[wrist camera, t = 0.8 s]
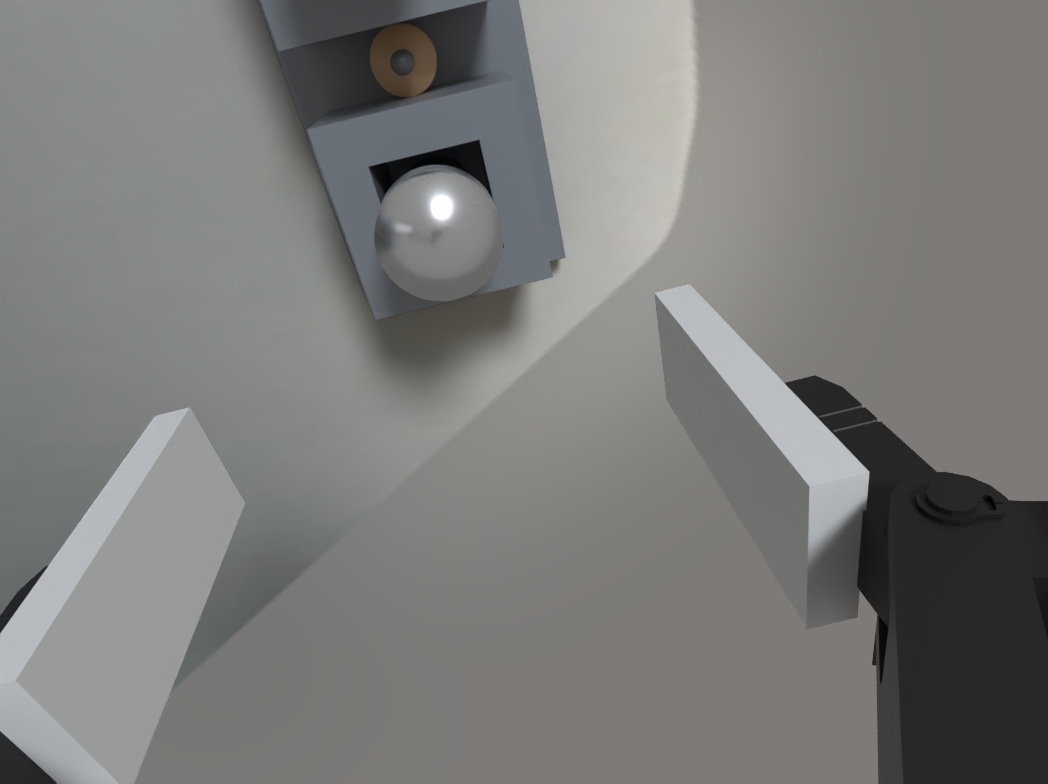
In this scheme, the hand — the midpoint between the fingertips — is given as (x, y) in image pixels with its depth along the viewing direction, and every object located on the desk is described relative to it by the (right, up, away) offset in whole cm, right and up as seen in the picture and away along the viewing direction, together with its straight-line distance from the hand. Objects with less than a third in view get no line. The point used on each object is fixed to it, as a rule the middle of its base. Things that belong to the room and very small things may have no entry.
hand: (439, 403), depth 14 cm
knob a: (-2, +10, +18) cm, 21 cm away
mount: (-4, +18, +19) cm, 26 cm away
